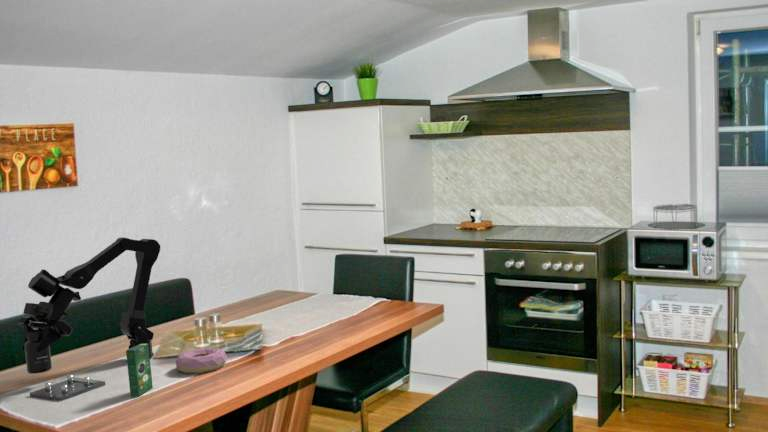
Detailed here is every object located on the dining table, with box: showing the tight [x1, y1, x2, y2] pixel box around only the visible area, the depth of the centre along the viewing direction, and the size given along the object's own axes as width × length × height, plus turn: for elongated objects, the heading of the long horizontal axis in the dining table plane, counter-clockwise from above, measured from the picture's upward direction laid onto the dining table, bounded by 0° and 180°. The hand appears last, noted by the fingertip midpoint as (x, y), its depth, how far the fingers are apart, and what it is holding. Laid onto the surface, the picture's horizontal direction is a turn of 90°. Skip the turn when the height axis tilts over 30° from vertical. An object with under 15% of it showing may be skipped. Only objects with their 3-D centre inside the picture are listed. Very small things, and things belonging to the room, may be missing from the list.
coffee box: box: [125, 344, 154, 398], centre depth 222 cm, size 8×3×13 cm, turn 168°
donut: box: [175, 347, 228, 374], centre depth 243 cm, size 16×15×5 cm
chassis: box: [29, 374, 106, 402], centre depth 230 cm, size 15×14×3 cm
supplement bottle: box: [24, 329, 53, 374], centre depth 237 cm, size 7×7×12 cm
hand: (30, 350), depth 234 cm, fingers closed on supplement bottle, 6 cm apart
